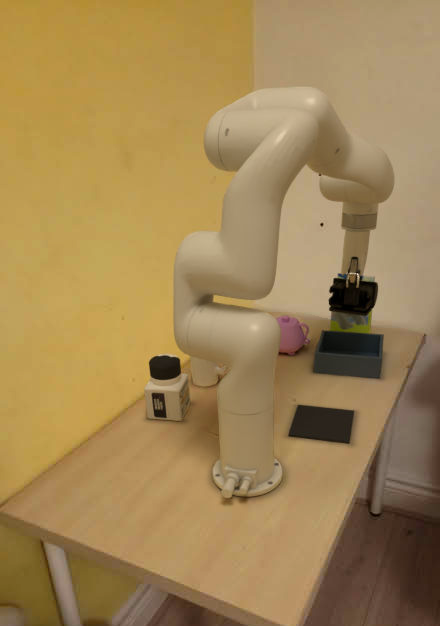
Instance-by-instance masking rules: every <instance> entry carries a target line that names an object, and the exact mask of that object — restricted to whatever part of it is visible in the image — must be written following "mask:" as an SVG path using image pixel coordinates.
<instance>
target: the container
mask: <svg viewBox="0 0 440 626" xmlns="http://www.w3.org/2000/svg"><path fill="white" fill-rule="evenodd" d="M148 368H149V376H150V379H149V380H148V382H147V383H146V385H145V386H144V388H143V392H144V400H145V407H146V414H147V419H149V420H158V421H173V422H174V421H175V422H183V419H184V418H185V415H186V413H187V411H188V409H189V407H190V406H191V393H190V382H189V381H190V380H189V374H188V373H184V372H183V373H182V365H181V358H180V357H179V356H177V355H175V354H171V353H161V354H157V355H155V356H153V357H151V358H150V359H149V361H148Z"/></svg>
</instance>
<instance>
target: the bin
mask: <svg viewBox="0 0 440 626" xmlns="http://www.w3.org/2000/svg"><path fill="white" fill-rule="evenodd" d="M384 339H385V335H384V334H383V333H371V332H370V333H356V332H341V331H330V330H325V329H322V330H321V332H320V336H319V338H318V342H317V344H316V348H315V351H314V355H313V356H314V357H313V359H314V360H313V374H323V375H334V376H344V377H354V378H355V377H357V378H365V379H377V380H379V379H380V380H381V373H382V364H383V352H384Z"/></svg>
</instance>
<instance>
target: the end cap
mask: <svg viewBox="0 0 440 626" xmlns="http://www.w3.org/2000/svg"><path fill="white" fill-rule="evenodd" d="M346 282H347V279H343V278H338V277H334V278H333V280H332V285H330V286H329V289H328V292H329V294H331V296H330V297H329V298H328V305H329V307H328V311H329V312H331V311H332V312H340V313H347V314H354V315H361V316H367V315H368V314H369V313H370V311H371V310H372V311H373V309H374V307H375V306H376V303H377V300H378V296H379V295H378V294H379V283H378V282H376V281H374V282H370V281H361V280H359V287H360V292H359V303H358V305H350V304H344V295H345V286H346ZM356 284H357V283H356Z"/></svg>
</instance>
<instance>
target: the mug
mask: <svg viewBox="0 0 440 626" xmlns="http://www.w3.org/2000/svg"><path fill="white" fill-rule="evenodd" d="M189 358H190V359H189V360H190V371H191V377H192V383H193V384H194V385H196V386H197V387H203V388H204V387H212V386H215V385H217V383H218V382H219V375H221V376H225V375H226V372H227V370H228V367H227V366H225V365H222V367H219V364H218V363H216V362H211V361H207V360H203V359H199V358H195V357H192V356H189Z"/></svg>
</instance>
